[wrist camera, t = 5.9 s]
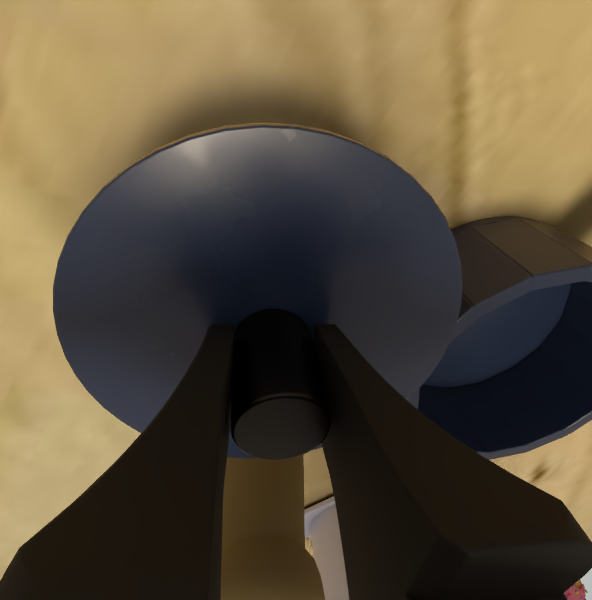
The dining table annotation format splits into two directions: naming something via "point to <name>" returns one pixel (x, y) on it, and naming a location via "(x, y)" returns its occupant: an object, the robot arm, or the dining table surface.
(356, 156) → the lid
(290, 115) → the dining table surface
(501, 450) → the pot
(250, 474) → the cork
